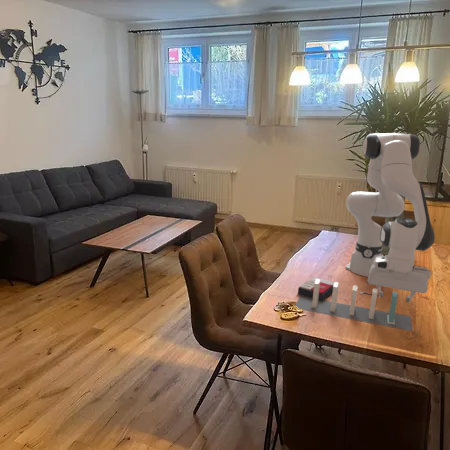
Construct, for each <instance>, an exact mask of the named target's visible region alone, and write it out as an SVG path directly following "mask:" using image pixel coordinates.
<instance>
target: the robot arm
mask: <svg viewBox="0 0 450 450" xmlns="http://www.w3.org/2000/svg"><path fill="white" fill-rule="evenodd" d="M420 140H421V139H420V137H418V136H417V135H416V134H412V133H408V134H407V133H400V132H391V133H390V132H386V133H384V132H383V133H369V134H367V135H366V137H365V138H364V140H363V143H362V152H363V155H364V157H365V158H366V159H369V164H368V170H367V174H366V182H367V183H368V184H369V186H370V187H371V188H373V189H375V190H377V191H378V192H377V191H376V192H373V191H363V190H361V191H353V192H351V193H350V194H349V195H347V198H346V199H345V200H346V201H345V206H346V209H347V211H348V212H349V213H351V215H352V216H353V217H354V218H355V221H356V223H357V228H358V232H357V233H358V234H357V241H356V244H355V250H354V251H352V253H350V260H349V263H348V264H346V266H345V269H346V270H349V271H351V272H353V274H355V275H360V276H362V277H367V283H368V285H372V286H376V289H377V293H378V298H384V291H382V289H381V288H382V287H383V288H389V289H390V288H391V289H396V290H402V291H408V292H410V294H409V295H406V296H405V297H406V298H405V302H406V303H411V302H412V299H413V298H414V297H415V295H416V293H420V294H425V293H427V292H428V287H429V280H430V279H431V276H432V271H431V270H430V269H429V268H428V267H425V266H419V265H415V259H416V255H415V251H421V252H424V251H427V250H428V249H430V248H431V247H432V246H433V245H434V243H435V231H434V228H433V225H432V222H431V218H430V214H429V209H428V203H427V199H426V194H425V191H424V187H423V185H422V183H421V182H420V181H418V180H417V179H416V177H415V176H414V175H415V174H414V173H413V161H412V160H414V159H415V158H416V157H418V156H419V152H420V150H421V141H420ZM399 194H400V195H402V196H404V197H405V199H407V200H408V201H409V202H410V203H411V205H412V209H413V214H414V219H412V218H409V217H405V216H404V217H402V218H397V219H396V220H395V221H394V222H387V223H384V224H383V225H382V226H381V224H378V223H377V222H375V221H374V220H373V219H372V217H382V218H386V217H395V216H399V215H400V214H401V213H402V212H403V213H404V210H405V208H406V207H405V204H406V203H404V200H403V198H402V197H401V196H400V195H399ZM382 243H383V244H384V245H385V246H386V247H390V250H389V253H388V255H385V256H384V255H382V254H381V253H382Z"/></svg>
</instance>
